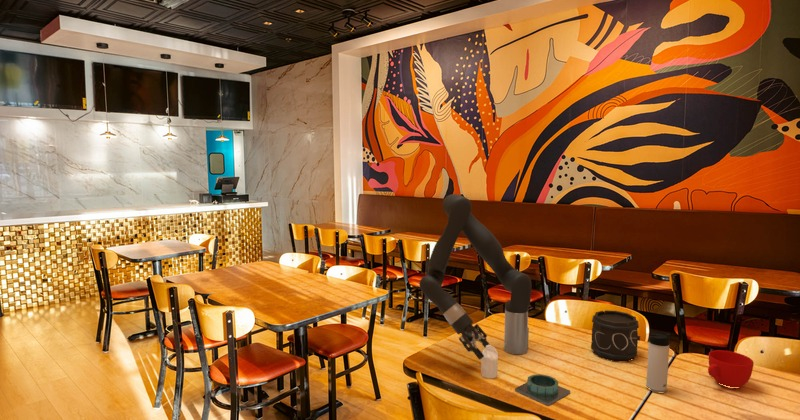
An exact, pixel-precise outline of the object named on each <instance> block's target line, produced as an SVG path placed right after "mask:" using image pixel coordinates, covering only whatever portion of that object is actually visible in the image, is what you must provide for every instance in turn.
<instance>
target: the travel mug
mask: <svg viewBox="0 0 800 420" xmlns="http://www.w3.org/2000/svg"><path fill="white" fill-rule="evenodd" d="M671 337H672V335H671V334H670V333H669V332H663V331H654V332H651V333H649V336H648V351H647V366H646V367H647V368H646V382H645V383H646V384H645V385H646V386H647V387H648V388H650V389H651V391H652V392H651V391H650V392H651V393H654V392H665V391H666V392H667V391H668V390H667V388H668V375H669V374H668V373H669V360H670V358H669V356H670V341H671V340H670V339H671ZM646 386H645V387H646ZM666 392H665V393H666Z"/></svg>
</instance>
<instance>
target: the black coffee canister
mask: <svg viewBox="0 0 800 420" xmlns="http://www.w3.org/2000/svg"><path fill="white" fill-rule="evenodd" d="M591 319H592V320H591V322H592V328H591V344H590V349H591V350H592V352H593V354H594V355H596V356H597V355H598V356H597V357H599V358H600V357H601V358H600V359H603V358H604V360H607V359H608V360H607V361H611V360H612V361H611V362H619V361H627V362H630V361H632V360H631V359H633V360H635V358H636V357H638V343H639V342H638V341H641V336H640V335H638V334H639V332H638V330H639V328H640V324H639V320H637V317H636V316H635V315H633V314H630V313H627V312H623V311H619V310H606V309H605V310H600V311H597V312H596V311H595V313H594V315H592V318H591ZM629 360H630V361H629Z"/></svg>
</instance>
